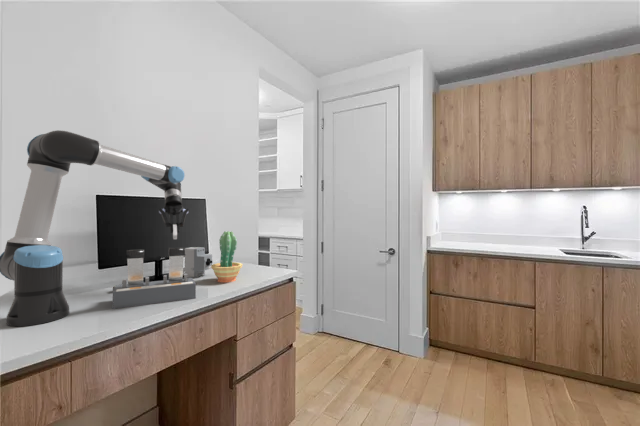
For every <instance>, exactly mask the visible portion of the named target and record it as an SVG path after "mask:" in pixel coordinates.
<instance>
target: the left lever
mask: <svg viewBox="0 0 640 426" xmlns="http://www.w3.org/2000/svg"><path fill="white" fill-rule="evenodd" d="M144 258H145V249H129V250H128V249H126V252H125V259H126V261H127V262H126V263H127V284H128V286H134V285H143V282H144Z"/></svg>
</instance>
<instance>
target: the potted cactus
mask: <svg viewBox="0 0 640 426" xmlns="http://www.w3.org/2000/svg"><path fill="white" fill-rule="evenodd" d="M237 245H238V239H237V237H236V235H235V234H234V232H233V231H229V230H228V231H224V232H223V233H222V234H221V236H220V238H219V250H220V251H219V252H220V260H219V261H220V262H218V263H212V265H211V269H212V271H213V272H214V276H215V277H216V278H217V282H218V283H232V282H233V283H234V282H235V281H236V280H237V277H238V275H240V274H239V273H240V271H241V268H243V265H244V264H243V263H241V262H233V261H234V255H235V252H236V250H237V247H238V246H237Z"/></svg>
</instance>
